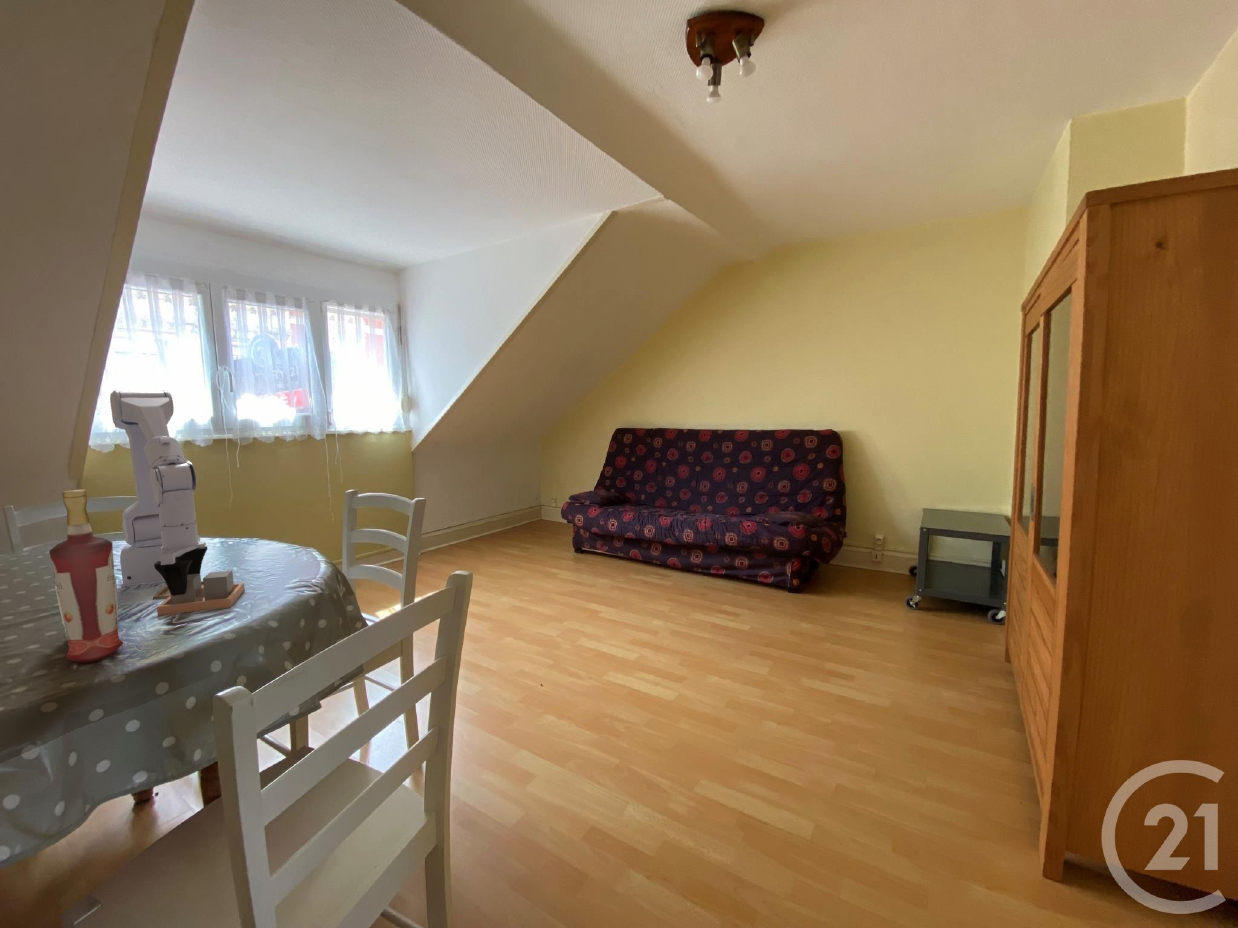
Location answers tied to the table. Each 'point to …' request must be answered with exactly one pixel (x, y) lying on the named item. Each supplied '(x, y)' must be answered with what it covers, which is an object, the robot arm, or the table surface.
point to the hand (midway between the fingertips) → (185, 588)
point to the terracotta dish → (200, 603)
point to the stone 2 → (218, 585)
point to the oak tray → (165, 593)
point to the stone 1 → (190, 591)
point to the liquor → (86, 585)
